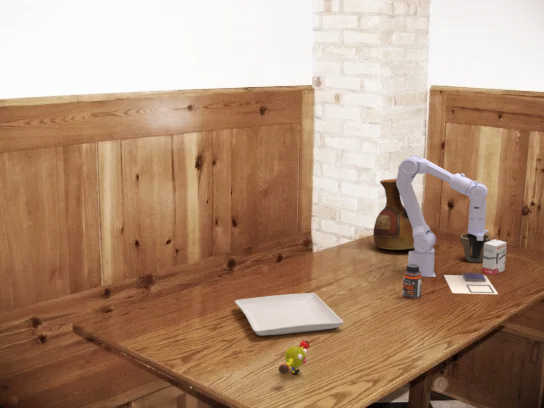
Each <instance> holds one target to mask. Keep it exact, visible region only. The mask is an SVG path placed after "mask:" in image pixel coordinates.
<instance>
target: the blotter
mask: <svg viewBox="0 0 544 408" xmlns="http://www.w3.org/2000/svg"><path fill="white" fill-rule="evenodd" d="M462 275H463V274H461V275H459V274H458V275H457V274H455V275H454V274H443V277H444V279H445V281H446V283H447V285H448V287H449V289H450V291H451V293H452V294H465V295H467V294H469V295H471V294H473V295H499V293H498V291H497V290H496V289H495V287H494V285H493V284H492V283H491V281H490V279H489V278H488V277H487V276H486V275H483V276H484V277H485V279H486V282H467V281H465V280H464V278H463V276H462Z"/></svg>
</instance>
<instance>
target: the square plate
mask: <svg viewBox="0 0 544 408" xmlns="http://www.w3.org/2000/svg"><path fill="white" fill-rule="evenodd" d="M234 303H235V304H236V305H237V307H238V308H239V309H240V310H241V313H243V315H245V317H246V319H247V321H248V323H249V324H250V327H251V329H252V330H253V332H254V333H255V334H256V335H258V336H262V337H263V336H279V335H287V334H288V335H289V334H296V333H307V332H316V331H323V330H331V329H336V328H338V327H340V326H342V325H343V324H344V320H343V319H341V317H339V315H337V314H336V313H335V311H334V310H333V309H332V308H330V307H329V305H328V304H326V302H324V300H322V298H320V297H319V295H318V294H316V293H315V292H304V293H303V292H302V293H289V294H288V293H287V294H279V295H278V294H277V295H269V296H268V295H267V296H258V297H257V296H256V297H251V298H242V299H241V298H240V299H236V300H234Z"/></svg>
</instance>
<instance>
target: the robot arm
mask: <svg viewBox="0 0 544 408" xmlns="http://www.w3.org/2000/svg"><path fill="white" fill-rule="evenodd" d="M397 169H398V170H397V175H396V179H397V181H396V185H397V188H398V190H399V193H400V199H401V202H402V205H403V206H404V207H405V209H406V212H407V215H408V217H409V220H410V223H411V225H412V228H413V238H414V249H413V250H409V251H408V258H407V259H408V260H407V265H408V264H417V265H419V271H420V272H421V273H422V277H428V278H429V277H433V278H434V277H437V275H436V273H435V251H436V250H435V248H434V245H436V242H437V237H436V235H435V234H434V232H432V231H431V230H432V229H431V228H430V226H429V225H428V224H427V223H426V220H425V216H424V215H423V211H422V209H421V207H420V204H419V201H418V198H417V195H416V193H415V190H414V188H413V185H412V183H413V181H414V179H415V177H416V176H417V174H418V175H423V174H424V175H425V174H429V175H431V176H433V177H435V178H438V179H440V180H442V181H444V182H446V183H448V184H449V187H450V189H452V190H455V191H457V192H458V193H460V194H462V195H464V196H467V197H468V199H469V207H468V208H469V209H468V222H467V223H468V227H467V232H466V233H470V234H466V233H465V234H466V235H467V237H468V240H469V244H470V251H471V246H472V254H473V257H479V256H480V253H481V250H482V247H483V245H484V243H485V241H486V238H483V236H484V234H488V233H489V230H488V229H486V218H487V196H488V194H489V189H488V187H487V185H485V184H484V183H483V182H478V181H477V180H472V179H471V178H468V177H467V176H466V174H464V173H463V172H461V173H455V174H453V173H451V172H449V171H448V170H446V169H444V168H442V167H441V166H439V165H437V164H435V163H433V162H431V161H430V160H429V159H426V158H424V157H420V156H419V155H417V154H416V155H415V154H414V155H410V156H409V157H407V158H405V159H402V161H401V162H400V164H399V165H398V167H397Z"/></svg>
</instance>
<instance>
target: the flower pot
mask: <svg viewBox="0 0 544 408" xmlns="http://www.w3.org/2000/svg"><path fill="white" fill-rule="evenodd" d="M466 234H470V233H468V232H466V233H462V234H461V235H460V236H459V237H460V243H462V249H463V251H464V256H465V259H466V261H467V262H469V263H472V262H471V261H469V260H468V259H467V255H470V244H469V240H468V237H467V235H466ZM483 238H486V241H485V243H486V242H489V241H491V240H492V239H491V236H490V235H488V234H487V233H485V234H484V236H483ZM483 254H484V245H483V247H482V250H481V253H480V257H481V258H482V261H481V262H473V263H476V264H477V263H483Z"/></svg>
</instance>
